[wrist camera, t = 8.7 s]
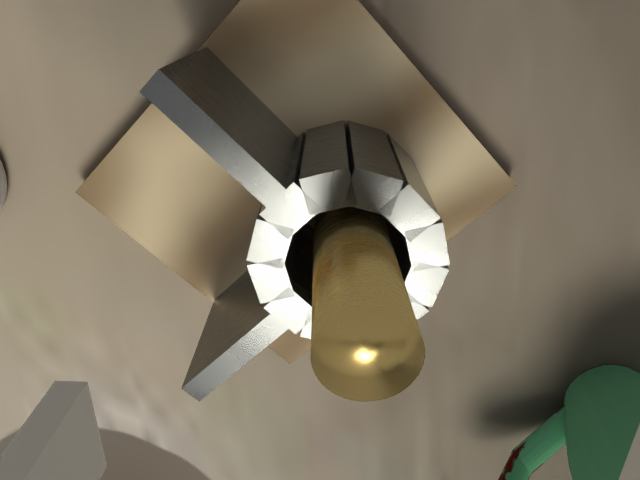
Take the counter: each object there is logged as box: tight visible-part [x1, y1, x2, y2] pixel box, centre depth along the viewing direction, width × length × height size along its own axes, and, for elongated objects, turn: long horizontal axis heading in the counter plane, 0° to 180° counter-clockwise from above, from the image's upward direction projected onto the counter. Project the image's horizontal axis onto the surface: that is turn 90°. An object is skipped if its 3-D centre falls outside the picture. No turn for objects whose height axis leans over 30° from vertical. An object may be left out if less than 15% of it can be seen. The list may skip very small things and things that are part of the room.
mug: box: [498, 365, 640, 480], centre depth 28 cm, size 15×10×10 cm
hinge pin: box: [311, 206, 425, 402], centre depth 19 cm, size 3×3×13 cm
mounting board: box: [76, 0, 517, 364], centre depth 26 cm, size 15×16×1 cm
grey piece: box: [140, 47, 450, 401], centre depth 22 cm, size 13×13×7 cm
